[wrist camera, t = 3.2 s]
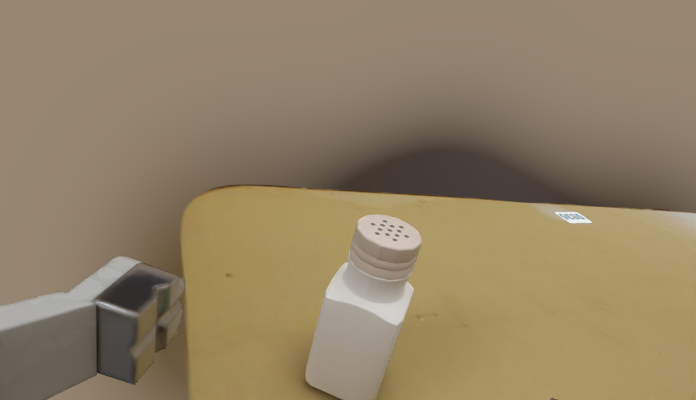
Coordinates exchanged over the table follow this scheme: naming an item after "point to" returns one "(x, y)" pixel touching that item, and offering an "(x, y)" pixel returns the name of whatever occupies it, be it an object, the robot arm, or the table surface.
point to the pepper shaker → (364, 310)
